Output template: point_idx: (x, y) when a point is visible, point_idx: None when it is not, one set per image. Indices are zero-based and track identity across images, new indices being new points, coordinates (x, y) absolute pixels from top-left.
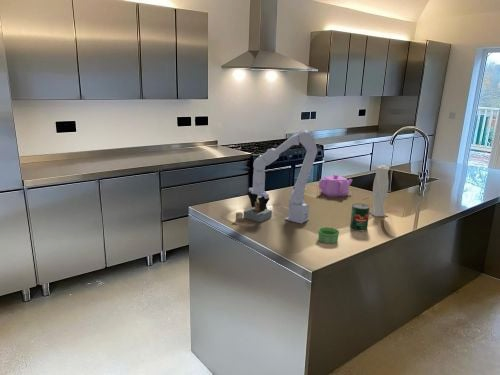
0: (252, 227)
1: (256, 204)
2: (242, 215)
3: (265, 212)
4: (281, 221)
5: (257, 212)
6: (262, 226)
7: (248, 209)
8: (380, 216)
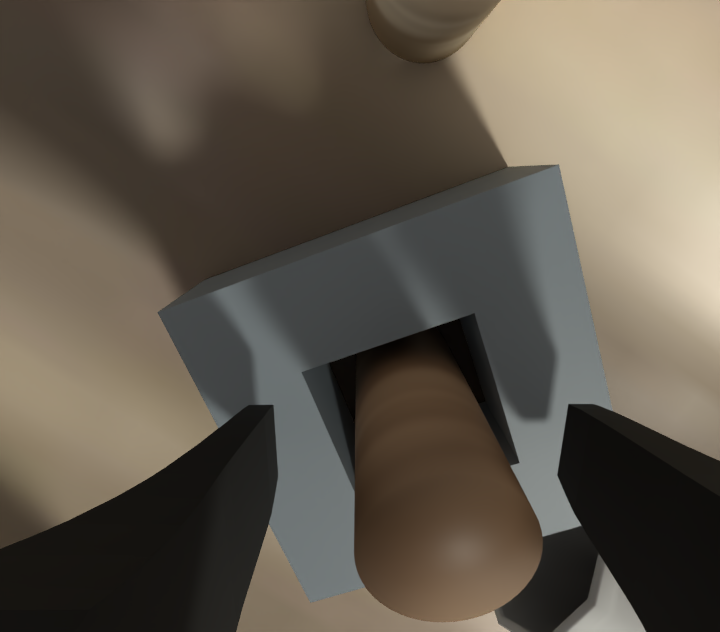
0: (41, 30)
1: (403, 456)
2: (395, 11)
3: None
4: None
5: (367, 376)
6: (34, 210)
7: (584, 312)
8: None
